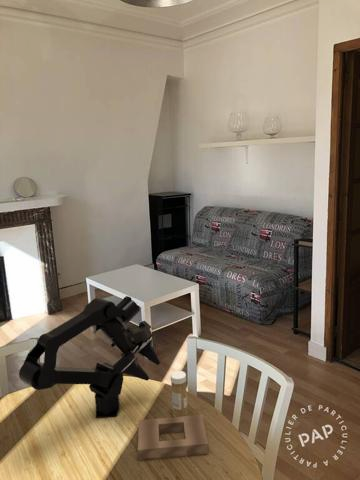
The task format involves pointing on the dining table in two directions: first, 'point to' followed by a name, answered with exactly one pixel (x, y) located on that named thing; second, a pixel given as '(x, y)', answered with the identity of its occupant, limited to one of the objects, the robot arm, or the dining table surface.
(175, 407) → the sprinkles bottle
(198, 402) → the dining table surface
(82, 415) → the dining table surface
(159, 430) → the socket block
